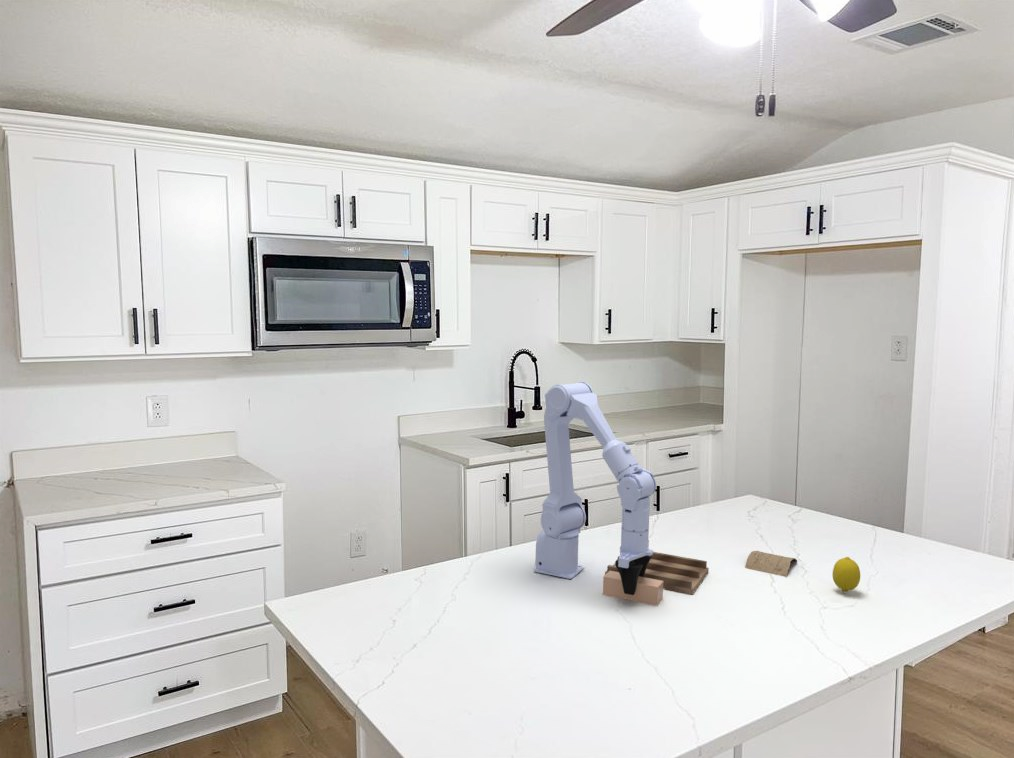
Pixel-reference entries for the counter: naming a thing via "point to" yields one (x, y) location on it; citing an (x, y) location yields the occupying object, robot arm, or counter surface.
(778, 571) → the clay tablet
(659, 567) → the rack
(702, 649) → the counter surface
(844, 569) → the lemon
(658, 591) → the peach rectangular block
